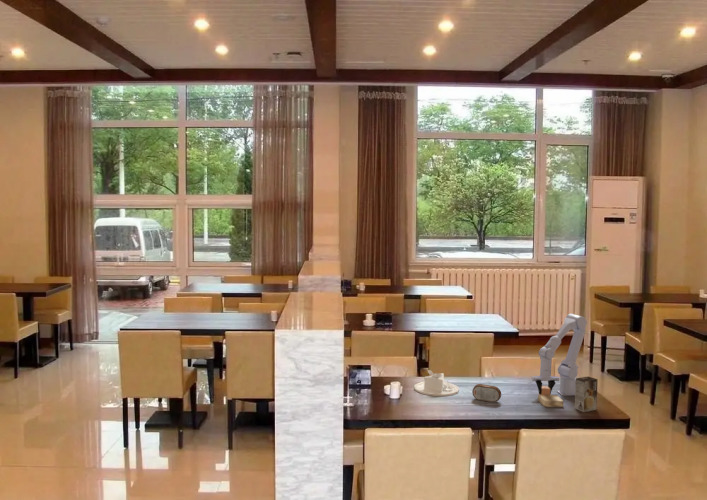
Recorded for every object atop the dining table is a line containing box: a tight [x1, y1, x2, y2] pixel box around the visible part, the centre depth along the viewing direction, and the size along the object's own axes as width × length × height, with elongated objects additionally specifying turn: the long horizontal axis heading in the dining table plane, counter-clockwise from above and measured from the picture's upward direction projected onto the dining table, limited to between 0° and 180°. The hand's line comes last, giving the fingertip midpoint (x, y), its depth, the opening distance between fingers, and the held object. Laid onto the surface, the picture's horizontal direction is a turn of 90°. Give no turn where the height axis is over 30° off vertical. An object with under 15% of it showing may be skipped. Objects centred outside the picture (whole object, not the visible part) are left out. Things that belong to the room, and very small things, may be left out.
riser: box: [537, 394, 564, 408], centre depth 339 cm, size 10×10×3 cm
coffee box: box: [574, 376, 599, 413], centre depth 330 cm, size 9×6×16 cm
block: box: [538, 385, 551, 395], centre depth 351 cm, size 4×4×5 cm
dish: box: [413, 369, 460, 397], centre depth 360 cm, size 25×25×11 cm
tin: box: [472, 383, 502, 403], centre depth 341 cm, size 15×3×8 cm, turn 65°
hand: (544, 393), depth 351 cm, fingers closed on block, 4 cm apart
